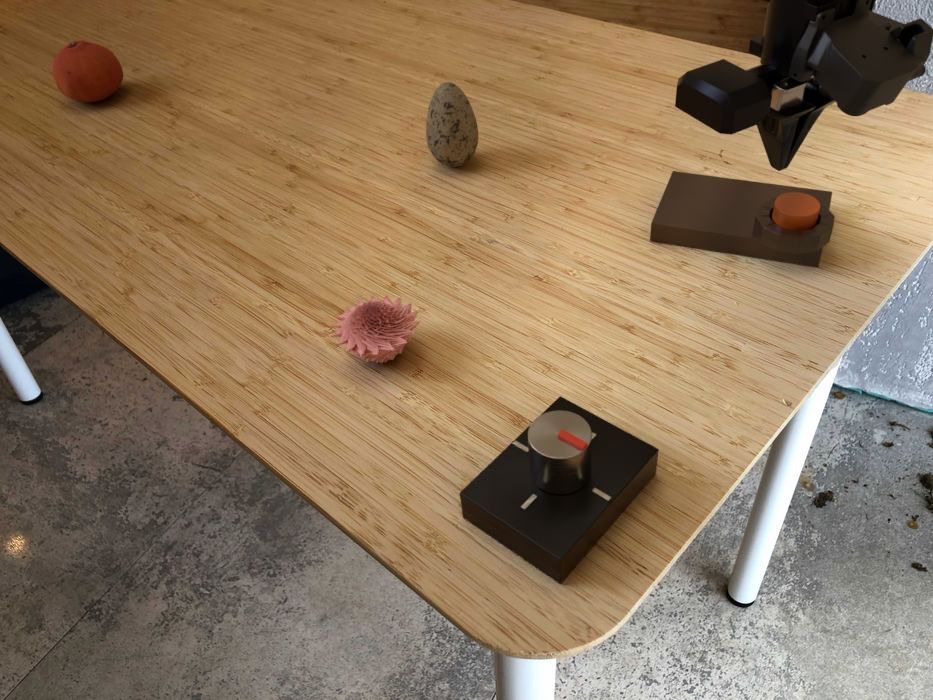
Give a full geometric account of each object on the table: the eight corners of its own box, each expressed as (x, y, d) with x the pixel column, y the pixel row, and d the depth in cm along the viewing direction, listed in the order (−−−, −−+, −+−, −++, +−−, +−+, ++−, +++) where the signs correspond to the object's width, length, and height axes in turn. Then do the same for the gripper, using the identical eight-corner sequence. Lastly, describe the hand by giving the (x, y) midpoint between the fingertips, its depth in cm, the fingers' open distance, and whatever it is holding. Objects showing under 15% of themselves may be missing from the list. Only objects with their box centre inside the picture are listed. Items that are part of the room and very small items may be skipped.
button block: (832, 210, 86) (841, 176, 84) (821, 277, 79) (830, 242, 76) (671, 188, 92) (674, 155, 89) (646, 249, 84) (648, 215, 82)
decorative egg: (454, 145, 102) (445, 66, 96) (491, 160, 99) (485, 79, 92) (419, 167, 99) (408, 87, 93) (456, 182, 96) (447, 101, 89)
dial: (517, 474, 61) (514, 435, 58) (554, 437, 64) (553, 398, 61) (566, 505, 59) (566, 466, 56) (603, 466, 61) (604, 426, 58)
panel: (560, 421, 69) (560, 394, 67) (656, 474, 64) (659, 447, 62) (462, 517, 63) (458, 491, 61) (560, 584, 58) (560, 559, 56)
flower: (403, 393, 73) (393, 345, 69) (321, 375, 75) (307, 328, 71) (438, 333, 78) (431, 286, 74) (360, 318, 80) (350, 271, 77)
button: (818, 211, 81) (822, 195, 79) (814, 234, 78) (818, 219, 77) (774, 205, 82) (777, 189, 81) (769, 228, 79) (772, 212, 78)
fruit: (52, 110, 119) (27, 54, 114) (92, 81, 125) (71, 27, 120) (102, 116, 116) (79, 60, 111) (141, 86, 122) (121, 32, 117)
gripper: (798, 46, 51) (759, 255, 61) (1013, -30, 56) (942, 174, 67) (679, -8, 58) (663, 187, 69) (879, -70, 64) (835, 119, 74)
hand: (778, 167), depth 70 cm, fingers closed
